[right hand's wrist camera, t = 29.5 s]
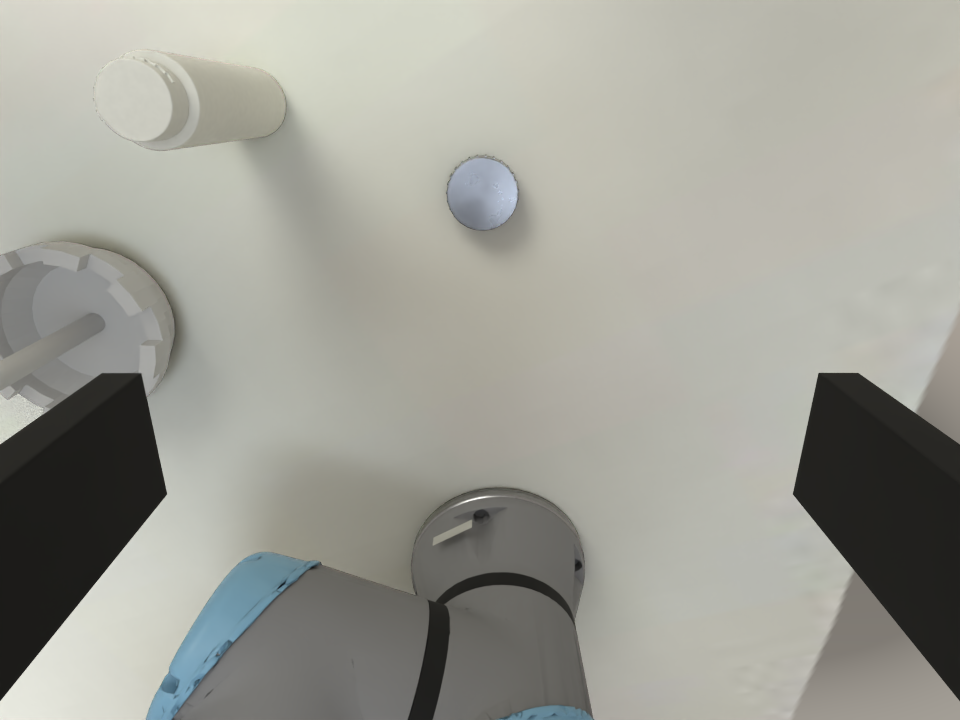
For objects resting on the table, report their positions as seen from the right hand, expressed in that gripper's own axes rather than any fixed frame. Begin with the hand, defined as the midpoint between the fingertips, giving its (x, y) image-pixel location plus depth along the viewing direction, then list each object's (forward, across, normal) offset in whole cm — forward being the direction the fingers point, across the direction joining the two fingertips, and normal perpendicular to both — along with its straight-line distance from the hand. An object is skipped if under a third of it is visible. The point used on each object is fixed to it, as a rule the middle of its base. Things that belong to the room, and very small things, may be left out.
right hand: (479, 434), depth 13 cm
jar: (+36, +15, -6) cm, 39 cm away
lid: (+34, 0, 0) cm, 34 cm away
